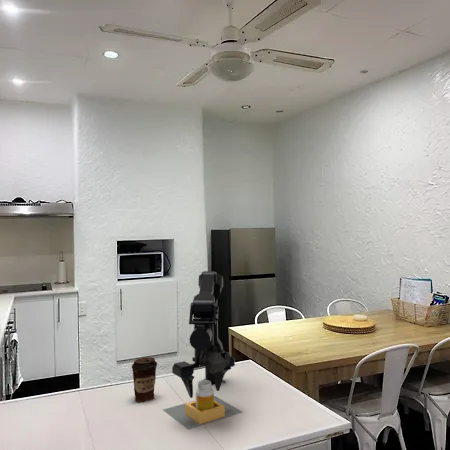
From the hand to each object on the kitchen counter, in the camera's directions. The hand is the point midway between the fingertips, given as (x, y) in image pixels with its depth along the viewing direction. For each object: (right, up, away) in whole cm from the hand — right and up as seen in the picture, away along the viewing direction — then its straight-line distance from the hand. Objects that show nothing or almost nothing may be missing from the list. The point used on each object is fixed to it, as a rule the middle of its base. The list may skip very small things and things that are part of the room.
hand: (204, 394), depth 123 cm
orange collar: (0, -6, 0) cm, 6 cm away
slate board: (-1, -7, +3) cm, 8 cm away
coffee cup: (-20, -8, +14) cm, 26 cm away
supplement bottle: (0, -7, 0) cm, 7 cm away
